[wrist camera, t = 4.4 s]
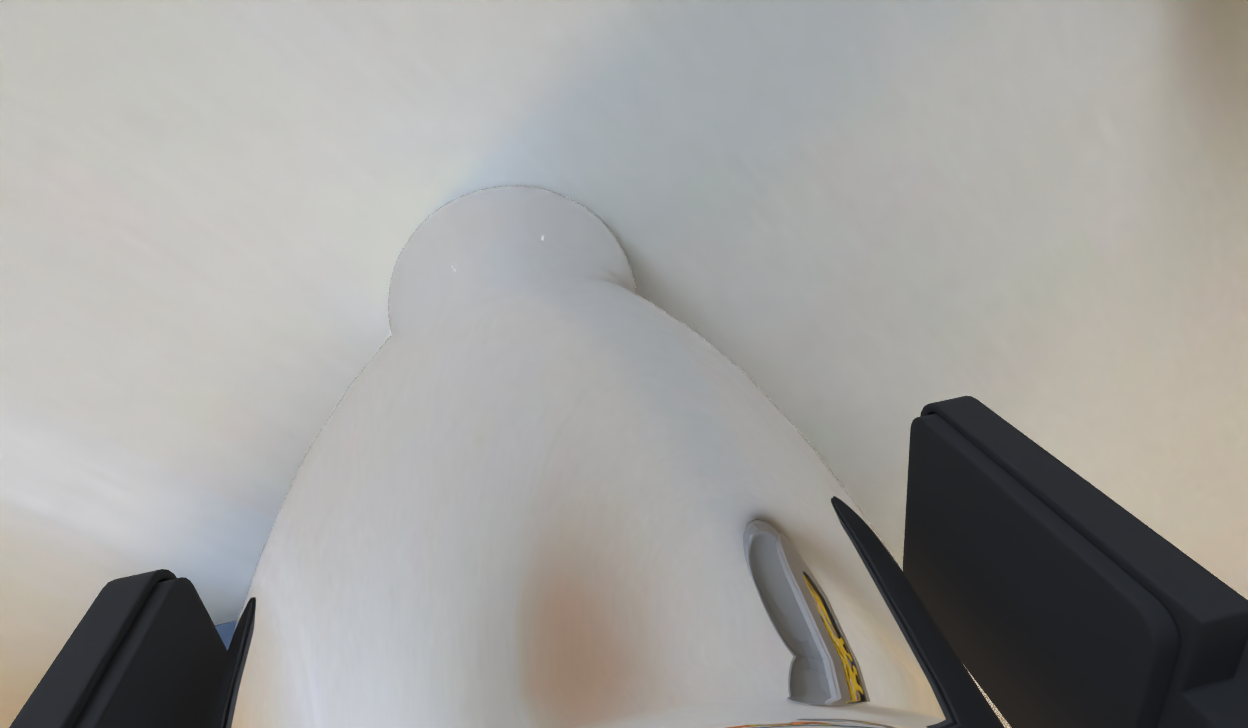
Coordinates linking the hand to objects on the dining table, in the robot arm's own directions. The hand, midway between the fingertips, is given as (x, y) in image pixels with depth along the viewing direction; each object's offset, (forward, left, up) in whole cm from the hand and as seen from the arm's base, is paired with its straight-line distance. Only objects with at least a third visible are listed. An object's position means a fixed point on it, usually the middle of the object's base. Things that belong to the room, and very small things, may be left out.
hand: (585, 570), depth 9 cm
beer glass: (0, 0, -10) cm, 10 cm away
